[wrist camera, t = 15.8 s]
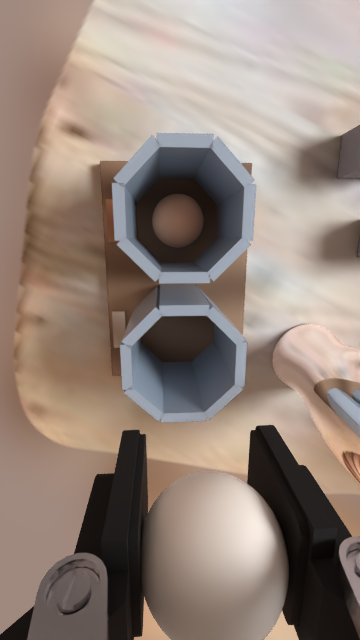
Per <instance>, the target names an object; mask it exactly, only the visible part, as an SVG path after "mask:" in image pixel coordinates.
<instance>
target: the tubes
mask: <svg viewBox="0 0 360 640" xmlns="http://www.w3.org/2000/svg"><path fill="white" fill-rule="evenodd" d="M213 137H214V134H186V133H157V140H156V138H155V137H154V136H153V135H152V136H151V137H150V138H149V139H148V140H147V141H146V142H145V143H144V145H143V146H142V147H141V148H140V149H139V150H138V151H137V152H136V154H135V155H134V156H133V157H132V158H131V159H130V160H129V161H128V163H127V164H126V165H125V166H124V167H123V168H122V169H121V170H120V171H119V173H118V174H117V175H116V176H115V177H114V178H113V179H114V180H115V181H116V182H117V183H112V197H113V216H114V236H115V241H120V242H119V243H118V244H117V246H119V247H120V248H121V249H122V250H123V251H124V252H125V253H126V254H127V255H128V256H129V257H130V258H131V259H132V260H133V261H134V262H135V263H136V264H137V265H138V266H139V267H140V268H141V269H142V270H143V271H144V272H145V273H146V274H147V275H148V276H149V277H150V278H152V279H153V280H154V281H155V282H156V281H157V280H158V279H159V284H167V283H210V279H211V280H212V281H215V280H216V279H217V278H218V277H219V276H220V275H221V274H222V273H223V272H224V271H225V270H226V269H227V268H228V267H229V266H230V265H231V264H232V263H233V262H234V261H235V260H236V259H237V258H238V257H239V256H240V255H241V254H242V253H243V252H244V251H245V250H246V249H247V248H248V247H249V246H250V245H251V244H250V243H249V242H248V241H253V232H254V215H255V198H256V184H251V183H252V182H253V181H254V178H253V177H252V176H251V175H250V174H249V173H248V171H247V170H246V169H245V168H244V167H243V165H242V164H241V163H240V162H239V161H238V159H237V158H236V157H235V156H234V155H233V154H232V152H231V151H230V150H229V149H228V148H227V146H226V145H225V144H224V143H223V142H222V141H221V139H220V138H219V137H218V136H217V138H216V139H215V140H214V141H213ZM160 178H175V179H195V181H196V182H197V183H198V184H199V185H200V186H201V187H202V188H203V189H204V191H205V192H206V193H207V194H208V195H209V196H210V197H211V198H212V199H213V201H214V202H215V203H216V204H217V218H216V239H215V240H214V241H213V242H212V243H211V244H210V245H209V246H208V247H207V248H206V249H205V250H204V251H203V252H202V253H201V254H200V255H199V256H198V257H197V258H196V259H195V260H194V261H193V262H161V261H160V260H159V259H158V258H157V257H156V256H155V255H154V254H153V253H152V252H151V251H150V250H149V249H148V248H147V247H146V246H145V245H144V244H143V243H142V242H141V241H140V240H139V239H138V230H137V203H138V202H139V201H140V200H141V198H142V197H143V196H144V195H145V194H146V193H147V192H148V191H149V190H150V189H151V188H152V187H153V185H154V184H155V183H156V182H157V181H158V180H159V179H160ZM162 316H208V317H209V318H210V319H211V320H212V321H213V342H212V343H211V344H210V345H209V346H208V347H207V348H206V349H205V350H204V351H203V352H202V353H201V354H200V355H198V356H197V357H196V358H195V359H194V360H193V361H192V362H162V361H161V360H159V359H158V358H157V357H156V356H155V355H154V354H153V353H152V352H151V351H149V350H148V349H147V348H146V347H145V346H144V345H143V344H142V343H141V336H143V335H144V334H145V333H146V332H147V331H148V330H149V329H150V328H151V327H152V326H153V325H154V324H155V323H156V322H157V321H158V320H159V319H160V318H161V317H162ZM245 340H246V339H245V338H244V337H243V335H242V334H241V333H240V332H239V331H238V330H237V328H236V327H235V326H234V325H233V324H232V322H231V321H230V320H229V319H228V318H227V317H226V315H225V314H224V313H223V312H222V311H221V309H220V308H219V307H218V306H217V305H216V304H215V303H214V302H213V301H212V300H211V299H210V298H209V297H208V296H207V295H206V294H205V293H204V292H203V291H202V290H201V289H200V288H199V287H198V286H195V285H194V284H192V285H160V288H159V287H158V286H157V287H156V288H155V289H154V290H153V291H152V292H151V293H150V294H149V295H148V296H147V297H146V298H145V299H144V300H143V301H142V302H141V303H140V304H139V305H138V306H137V307H136V308H135V309H134V310H133V313H132V316H131V318H130V321H129V323H128V326H127V328H126V331H125V334H124V336H123V339H122V341H121V344H120V355H121V375H122V390H125V391H124V393H125V394H126V395H127V396H128V397H129V398H130V399H132V400H133V401H134V402H135V403H136V404H138V405H139V406H140V407H141V408H142V409H144V410H145V411H146V412H147V413H148V414H150V415H151V416H152V417H153V418H154V419H156V420H157V421H159V420H160V419H161V423H162V422H193V421H206V418H208V419H211V418H212V417H213V416H214V415H216V414H217V413H218V412H219V411H220V410H221V409H222V408H223V407H224V406H226V405H227V404H228V403H229V402H230V401H231V400H232V399H233V398H234V397H235V396H237V395H238V394H239V393H240V392H241V391H242V390H243V389H242V387H245V370H246V353H247V342H246V341H245Z"/></svg>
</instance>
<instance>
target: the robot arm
mask: <svg viewBox="0 0 360 640" xmlns="http://www.w3.org/2000/svg"><path fill="white" fill-rule="evenodd" d="M247 484H248V485H250V486H251V487H252V488H254V489H255V490H256V491H257V492H258V493H259V494H260V495H261V496H262V497H263V498H264V500H265V501H266V502H267V504H268V505H269V507H270V508H271V509H272V511H273V513H274V515H275V517H276V519H277V521H278V523H279V525H280V527H281V530H282V533H283V536H284V539H285V543H286V548H287V553H288V562H289V579H288V589H287V594H286V598H285V603H284V606H283V608H282V611H283V614H284V616H285V619H286V621H287V623H288V625H294V627H295V630H296V632H297V635H298V638H299V640H360V536H357V537H352V536H351V534H350V533H349V531H348V529H347V528H346V526H345V525H344V523H343V522H342V520H341V519H340V517H339V516H338V514H337V513H336V511H335V510H334V508H333V506H332V505H331V503H330V502H329V500H328V499H327V497H326V496H325V494H324V493H323V491H322V490H321V488H320V487H319V485H318V484H317V482H316V480H315V479H314V477H313V476H312V474H311V473H310V471H309V470H308V469H307V467H306V466H304V465H298V463H297V461H296V460H295V458H294V457H293V455H292V453H291V452H290V450H289V449H288V447H287V445H286V444H285V442H284V441H283V439H282V437H281V436H280V434H279V433H278V431H277V429H276V428H275V426H274V425H264V426H256V430H252V431H251V434H250V449H249V465H248V481H247ZM147 490H148V489H147V455H146V434H140V431H139V430H126V431H123V433H122V438H121V443H120V448H119V453H118V458H117V463H116V468H115V473H114V474H97V475H96V477H95V480H94V484H93V487H92V491H91V494H90V498H89V502H88V505H87V509H86V513H85V516H84V520H83V523H82V528H81V531H80V534H79V538H78V542H77V545H76V549H75V552H74V554H73V555H70V556H67V557H65V558H64V559H62V560H60V561H58V562H57V563H56V564H55V565H54V566H53V567H52V568H51V569H50V570H49V571H48V572H47V573H46V575H45V576H44V578H43V579H42V581H41V583H40V586H39V589H38V592H37V596H36V601H35V605H34V607H32V608H31V609H30V610H29V611H28V612H26V613H25V614H24V615H23V616H22V617H21V618H19V619H18V620H17V621H16V622H15V623H13V624H12V625H11V626H10V627H9V628H8V629H6V630H5V631H4V632H3V633H2V634H1V635H0V640H134V637H140V636H142V629H143V605H144V594H143V590H142V586H141V541H142V529H143V525H144V522H145V520H146V517H147V515H148V493H147V492H148V491H147Z"/></svg>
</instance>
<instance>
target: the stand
mask: <svg viewBox="0 0 360 640" xmlns="http://www.w3.org/2000/svg"><path fill="white" fill-rule="evenodd" d="M337 178H360V125H359V126H357V127H355V128H354V129H352V130H350V131H348V132H347V133H345V134H343V135H342V140H341V149H340V157H339V166H338V174H337Z"/></svg>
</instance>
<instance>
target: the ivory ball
mask: <svg viewBox="0 0 360 640" xmlns="http://www.w3.org/2000/svg"><path fill="white" fill-rule="evenodd" d="M288 579H289V562H288V553H287V548H286V543H285V539H284V536H283V533H282V530H281V527H280V525H279V523H278V521H277V519H276V517H275V515H274V513H273V511H272V509H271V508H270V507H269V505H268V504H267V502H266V501H265V500H264V498H263V497H262V496H261V495H260V494H259V493H258V492H257V491H256V490H255V489H254V488H252V487H251V486H250V485H248V484H247V483H245V482H244V481H243V480H241V479H239V478H237V477H235V476H232V475H230V474H227V473H223V472H219V471H200V472H195V473H191V474H188V475H186V476H183V477H181V478H179V479H178V480H176V481H174V482H173V483H172V484H171V485H169V486H168V487H167V488H166V489H165V490H164V491H163V492H162V493H161V494H160V496H159V497H158V498H157V499H156V501H155V502H154V503H153V505H152V507H151V509H150V511H149V513H148V515H147V517H146V520H145V522H144V525H143V529H142V541H141V586H142V590H143V594H144V597H145V600H146V602H147V605H148V607H149V609H150V611H151V613H152V615H153V617H154V619H155V620H156V622H157V623H158V625H159V626H160V628H161V629H162V630H163V631H164V632H165V634H166V635H167V636H168V637H169V638H170V639H171V640H264V639H265V637H266V636H267V635H268V634H269V632H270V631H271V630H272V628H273V627H274V625H275V624H276V622H277V620H278V618H279V615H280V613H281V611H282V608H283V606H284V603H285V598H286V594H287V589H288Z"/></svg>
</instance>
